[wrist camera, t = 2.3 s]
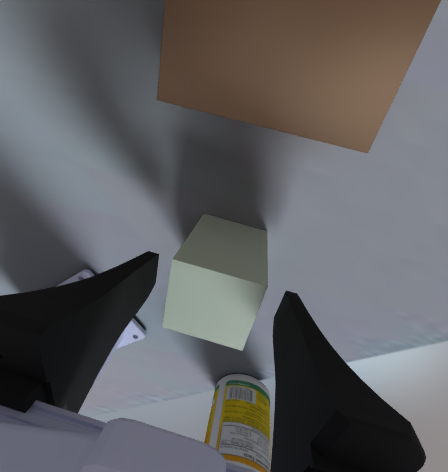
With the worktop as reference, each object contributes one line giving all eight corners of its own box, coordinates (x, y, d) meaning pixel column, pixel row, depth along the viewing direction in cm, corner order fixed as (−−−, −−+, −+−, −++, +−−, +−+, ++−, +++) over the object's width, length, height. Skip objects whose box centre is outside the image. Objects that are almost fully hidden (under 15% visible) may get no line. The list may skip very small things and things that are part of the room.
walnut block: (340, 145, 13) (367, 153, 10) (185, 105, 14) (156, 100, 10) (442, -98, 9) (554, -237, 6) (218, -143, 10) (189, -300, 6)
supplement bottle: (246, 364, 22) (233, 522, 13) (281, 398, 23) (290, 561, 14) (204, 382, 24) (169, 528, 15) (238, 412, 25) (224, 562, 17)
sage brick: (249, 282, 18) (242, 351, 12) (193, 266, 18) (162, 326, 13) (267, 230, 16) (267, 286, 10) (203, 213, 16) (172, 259, 11)
